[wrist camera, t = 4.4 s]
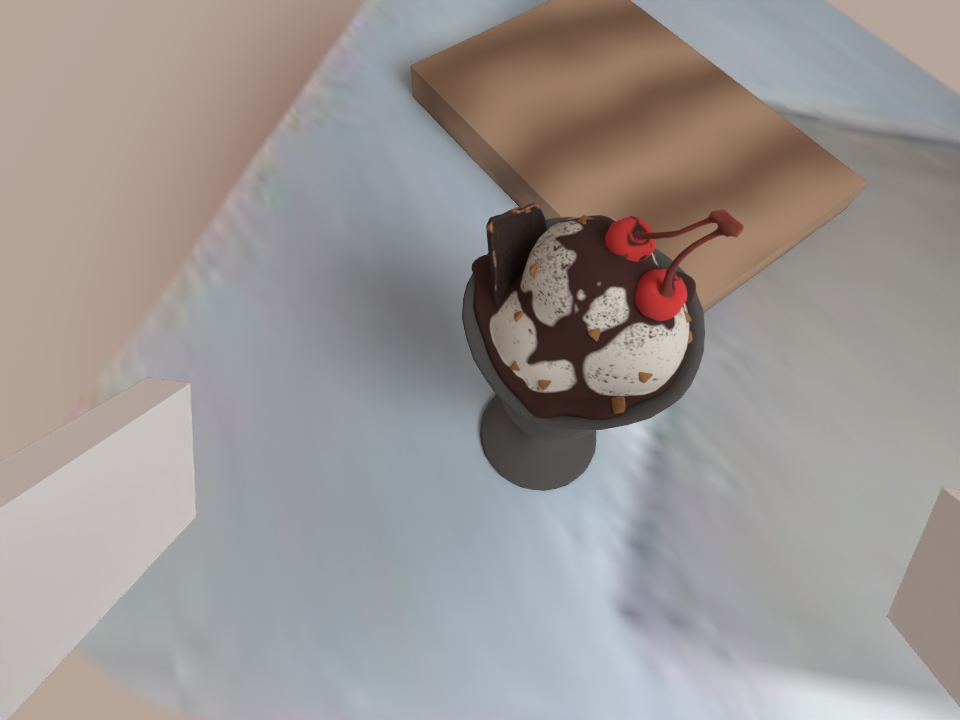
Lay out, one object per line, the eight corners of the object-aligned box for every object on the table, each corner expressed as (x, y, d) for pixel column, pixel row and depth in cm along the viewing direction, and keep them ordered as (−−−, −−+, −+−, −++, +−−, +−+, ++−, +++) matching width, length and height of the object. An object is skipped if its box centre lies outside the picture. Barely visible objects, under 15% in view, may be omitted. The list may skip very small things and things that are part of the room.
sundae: (640, 489, 24) (870, 295, 11) (482, 528, 23) (515, 371, 10) (588, 350, 27) (720, 55, 13) (446, 380, 26) (433, 97, 12)
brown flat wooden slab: (844, 209, 31) (868, 182, 29) (656, 347, 27) (670, 326, 25) (594, 9, 38) (600, -23, 36) (413, 96, 34) (410, 65, 32)
